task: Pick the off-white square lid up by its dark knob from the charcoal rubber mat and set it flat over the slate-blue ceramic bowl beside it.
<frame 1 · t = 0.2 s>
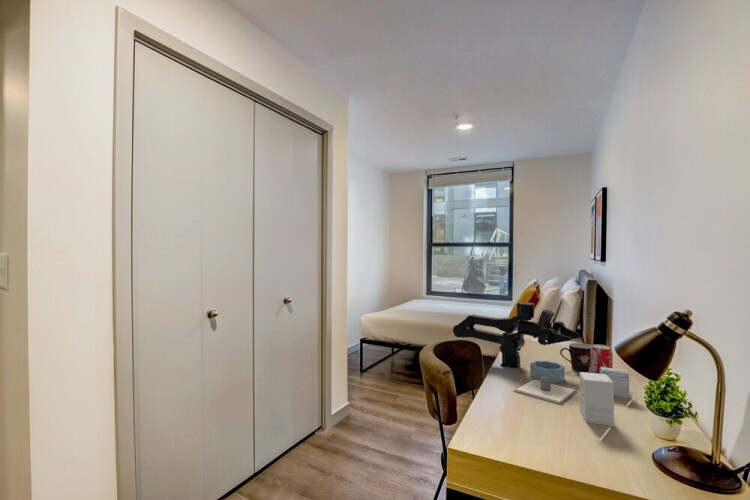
hand: (574, 336, 137), 17 cm above the table, tool horizontal, fingers open, 9 cm apart
lid: (545, 391, 125), resting on mat
soda can: (601, 381, 138), on the table
supplement box: (596, 420, 105), on the table
coffee mug: (576, 369, 151), on the table
mat: (545, 393, 125), on the table
medicine box: (614, 396, 124), on the table
bowl: (547, 379, 139), on the table
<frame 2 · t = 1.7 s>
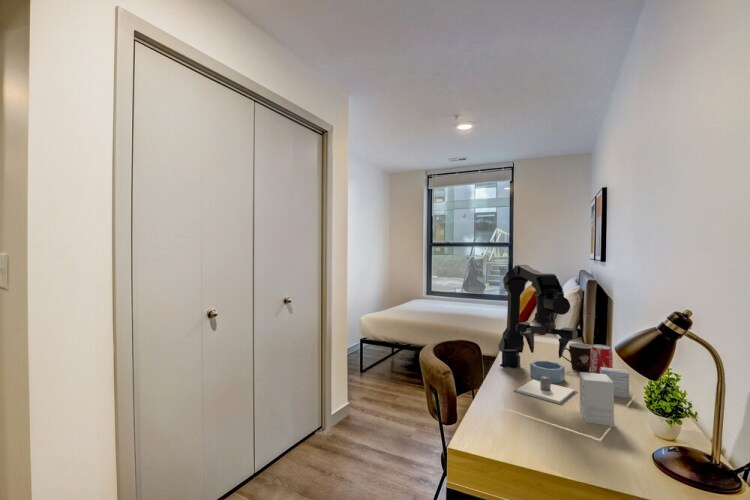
hand: (545, 355, 125), 13 cm above the table, tool pointing down, fingers open, 9 cm apart
nothing on the table moved.
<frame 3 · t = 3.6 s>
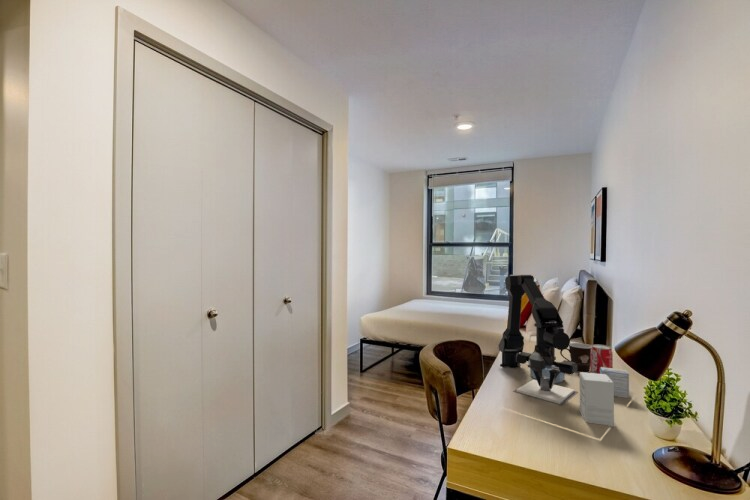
hand: (545, 387, 125), 2 cm above the table, tool pointing down, fingers closed on lid, 3 cm apart
lid: (545, 391, 125), resting on mat, touching gripper
everything else where it was.
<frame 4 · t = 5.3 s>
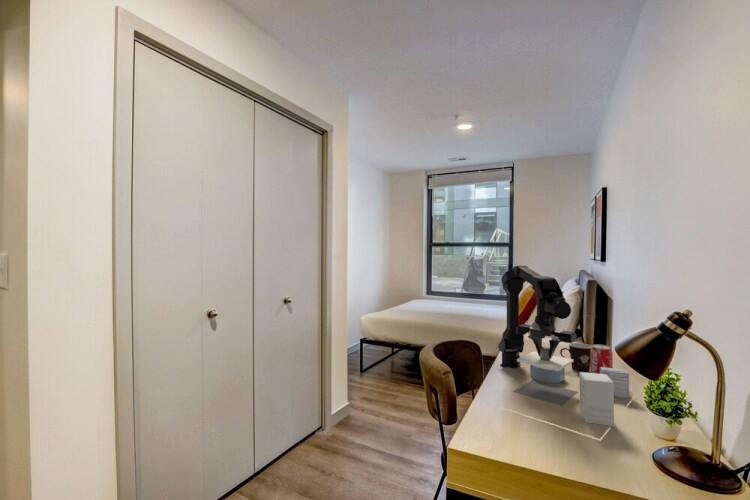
hand: (545, 357, 128), 12 cm above the table, tool pointing down, fingers closed on lid, 3 cm apart
lid: (545, 361, 128), point 10 cm above the table, touching gripper
everything else where it was.
when the fingers open (8 cm above the table, at t = 7.0 s): lid drops 1 cm, resting on bowl.
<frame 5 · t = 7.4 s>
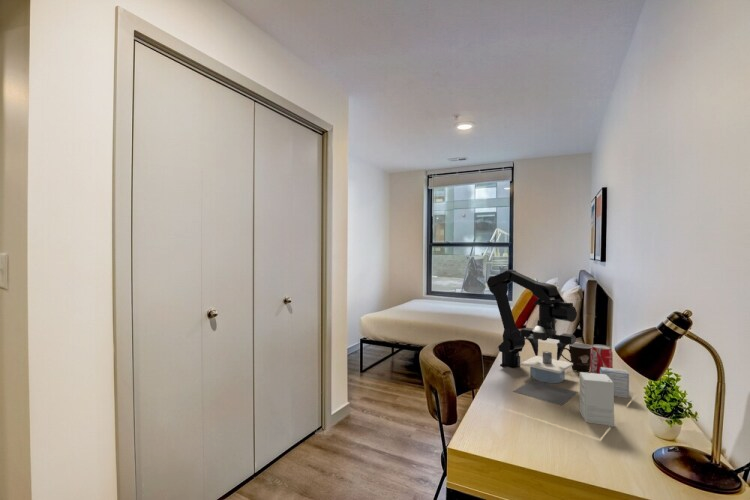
hand: (547, 358, 139), 8 cm above the table, tool pointing down, fingers open, 8 cm apart
lid: (547, 364, 139), point 5 cm above the table, touching bowl
bowl: (547, 379, 139), on the table, touching lid
everything else where it was.
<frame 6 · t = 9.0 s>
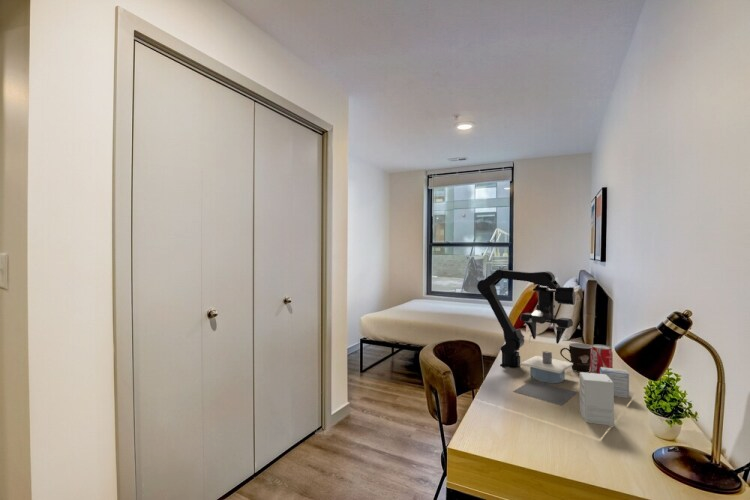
hand: (545, 341, 147), 13 cm above the table, tool pointing down, fingers open, 9 cm apart
nothing on the table moved.
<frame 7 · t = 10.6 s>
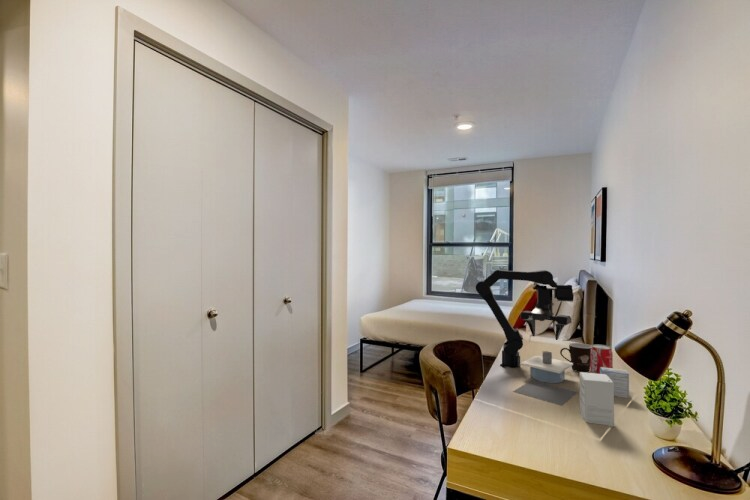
hand: (544, 338, 151), 13 cm above the table, tool pointing down, fingers open, 9 cm apart
nothing on the table moved.
at the end: lid 0.0 cm off-centre on the bowl, point 5.5 cm above the bowl's base; lid tilted 0°; bowl moved 0.1 cm from its start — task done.
